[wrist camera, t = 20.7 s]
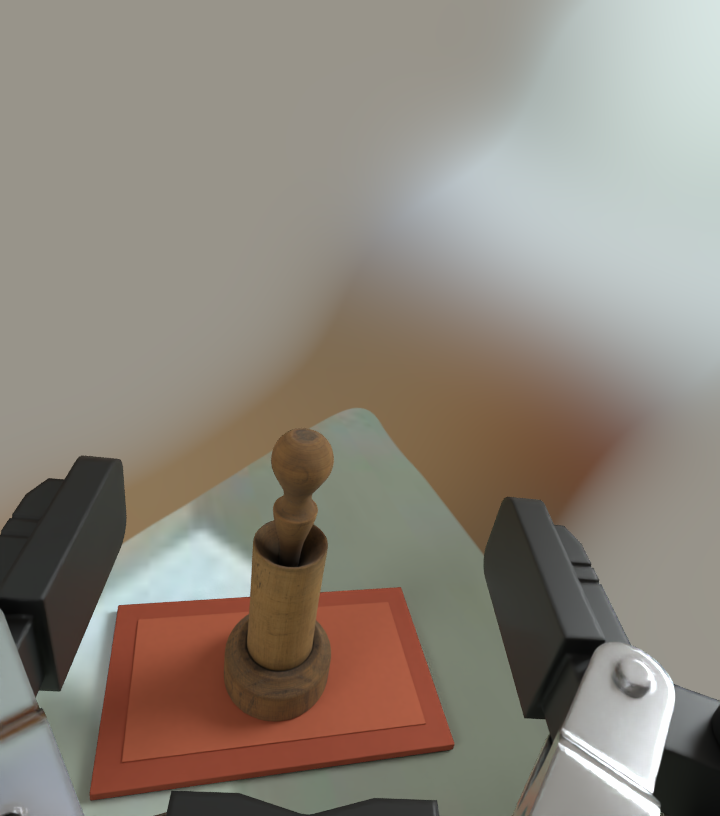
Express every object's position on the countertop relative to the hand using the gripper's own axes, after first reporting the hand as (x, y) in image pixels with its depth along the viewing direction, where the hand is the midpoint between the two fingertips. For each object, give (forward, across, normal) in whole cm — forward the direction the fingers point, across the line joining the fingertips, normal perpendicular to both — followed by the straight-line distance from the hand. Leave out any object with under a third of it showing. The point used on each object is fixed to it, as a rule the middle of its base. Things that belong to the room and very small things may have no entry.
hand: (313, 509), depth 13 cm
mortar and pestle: (+14, 0, +26) cm, 29 cm away
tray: (+14, 0, +26) cm, 30 cm away
